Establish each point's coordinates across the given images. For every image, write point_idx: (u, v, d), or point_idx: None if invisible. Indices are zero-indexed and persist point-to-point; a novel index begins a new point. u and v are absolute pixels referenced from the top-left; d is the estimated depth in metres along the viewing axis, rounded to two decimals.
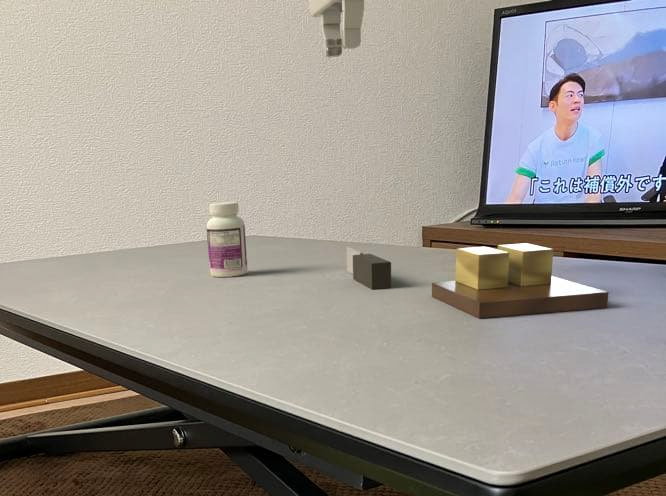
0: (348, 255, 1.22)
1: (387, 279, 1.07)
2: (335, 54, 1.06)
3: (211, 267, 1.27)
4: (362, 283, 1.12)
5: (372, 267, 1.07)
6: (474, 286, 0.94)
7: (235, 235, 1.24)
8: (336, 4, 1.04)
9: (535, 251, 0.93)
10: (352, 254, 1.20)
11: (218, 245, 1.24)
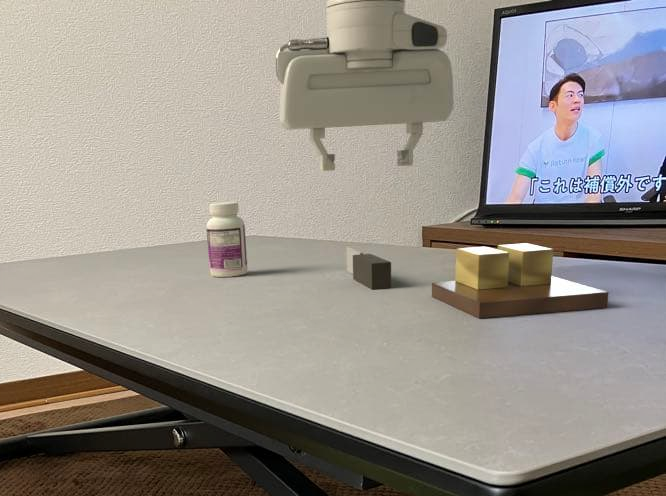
0: (348, 255, 1.22)
1: (387, 279, 1.07)
2: (399, 164, 1.08)
3: (211, 267, 1.27)
4: (362, 283, 1.12)
5: (372, 267, 1.07)
6: (474, 286, 0.94)
7: (235, 235, 1.24)
8: None
9: (535, 251, 0.93)
10: (352, 254, 1.20)
11: (218, 245, 1.24)
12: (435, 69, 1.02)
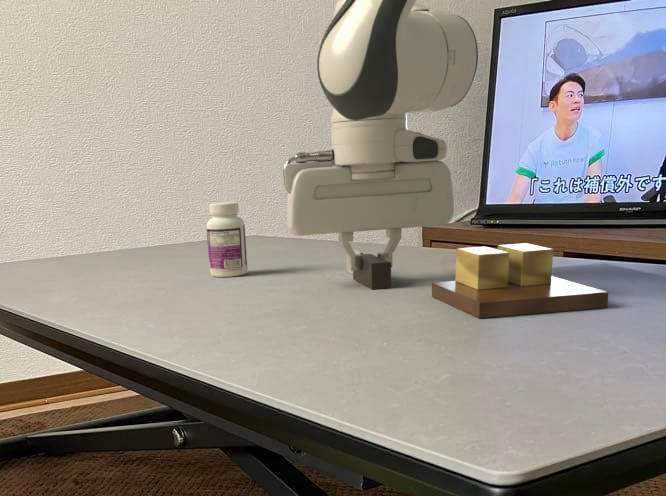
0: None
1: (387, 279, 1.07)
2: None
3: (211, 267, 1.27)
4: (362, 283, 1.12)
5: (372, 267, 1.07)
6: (474, 286, 0.94)
7: (235, 235, 1.24)
8: None
9: (535, 251, 0.93)
10: None
11: (218, 245, 1.24)
12: (435, 178, 1.07)
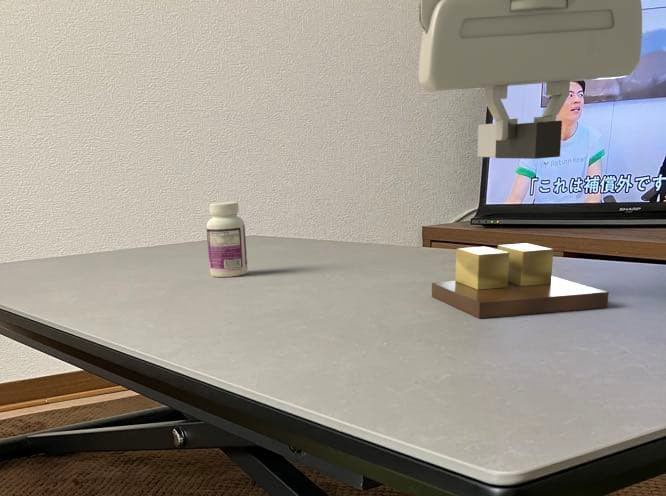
0: (481, 134, 0.96)
1: (556, 144, 0.81)
2: None
3: (211, 267, 1.27)
4: (515, 157, 0.86)
5: (537, 127, 0.80)
6: (474, 286, 0.94)
7: (235, 235, 1.24)
8: None
9: (535, 251, 0.93)
10: (489, 130, 0.94)
11: (218, 245, 1.24)
12: (620, 9, 0.81)
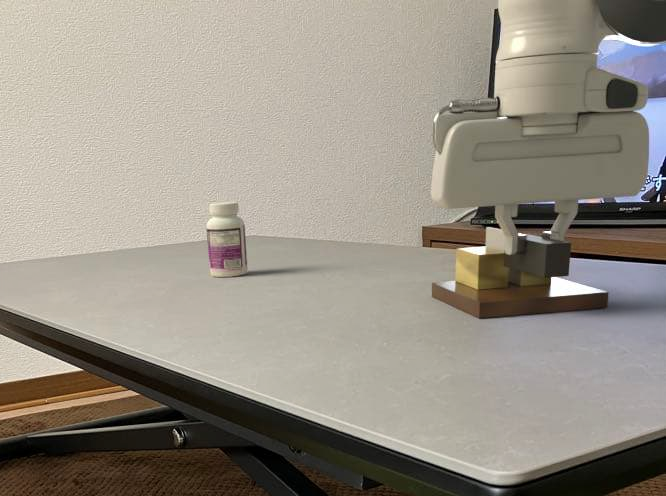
0: (489, 237, 0.98)
1: (565, 265, 0.83)
2: None
3: (211, 267, 1.27)
4: (523, 270, 0.88)
5: (547, 249, 0.82)
6: (474, 286, 0.94)
7: (235, 235, 1.24)
8: None
9: None
10: (498, 235, 0.96)
11: (218, 245, 1.24)
12: (628, 135, 0.83)
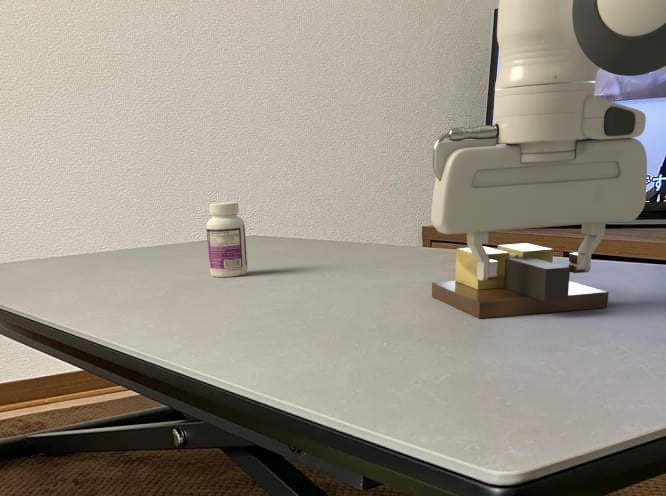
0: None
1: (564, 289, 0.84)
2: (573, 271, 0.89)
3: (211, 267, 1.27)
4: (523, 294, 0.89)
5: (546, 274, 0.83)
6: (474, 286, 0.94)
7: (235, 235, 1.24)
8: None
9: (535, 251, 0.93)
10: None
11: (218, 245, 1.24)
12: (626, 161, 0.84)
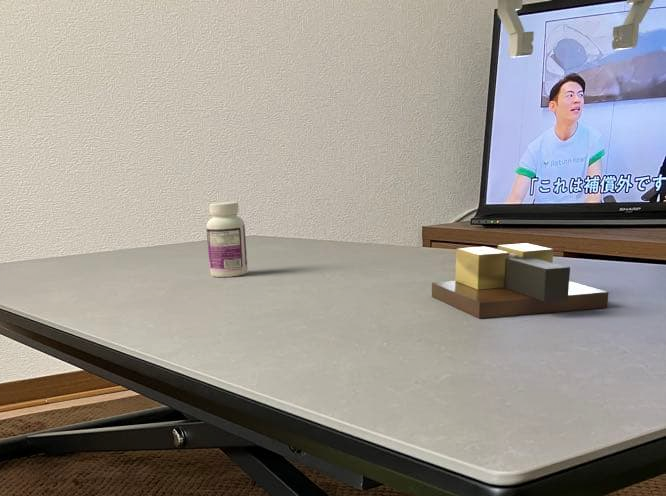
0: None
1: (564, 289, 0.84)
2: (618, 46, 0.79)
3: (211, 267, 1.27)
4: (523, 294, 0.89)
5: (546, 274, 0.83)
6: (474, 286, 0.94)
7: (235, 235, 1.24)
8: None
9: (535, 251, 0.93)
10: None
11: (218, 245, 1.24)
12: None
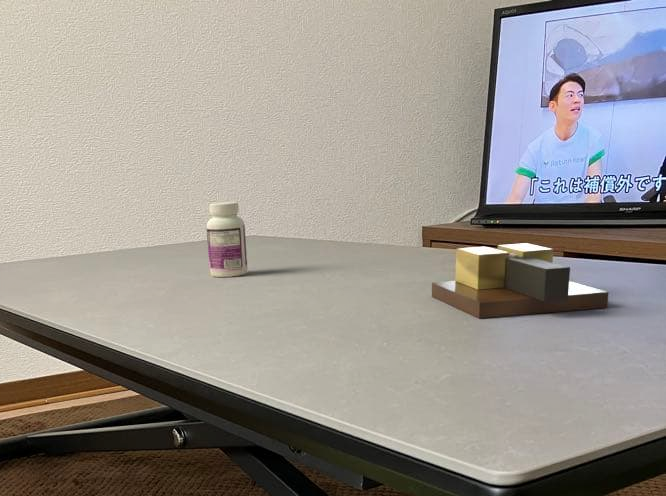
0: None
1: (564, 289, 0.84)
2: None
3: (211, 267, 1.27)
4: (523, 294, 0.89)
5: (546, 274, 0.83)
6: (474, 286, 0.94)
7: (235, 235, 1.24)
8: None
9: (535, 251, 0.93)
10: None
11: (218, 245, 1.24)
12: None
